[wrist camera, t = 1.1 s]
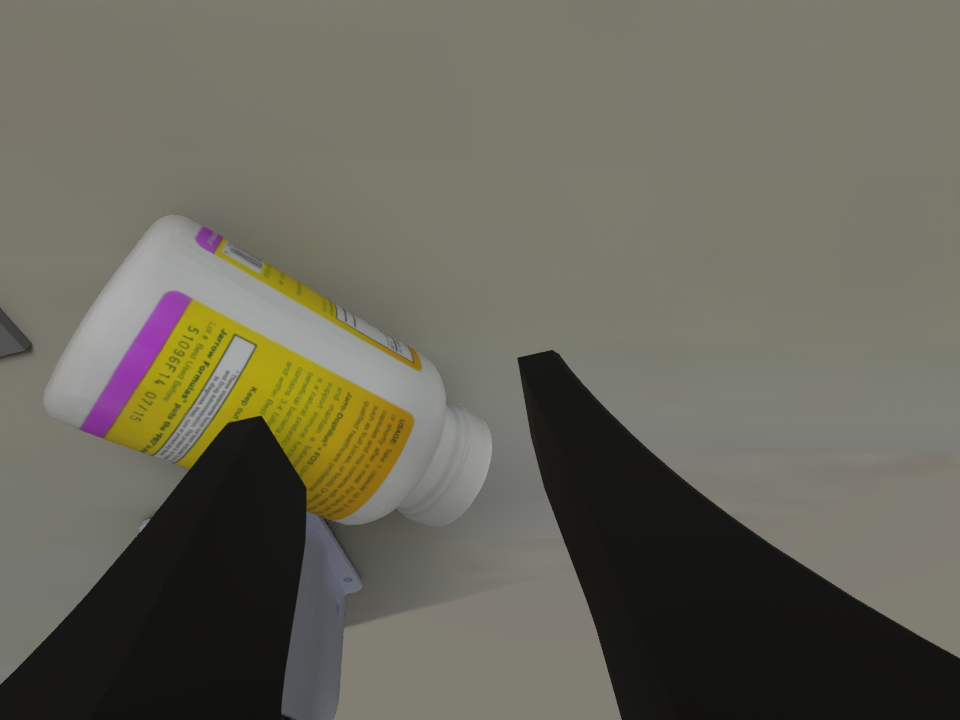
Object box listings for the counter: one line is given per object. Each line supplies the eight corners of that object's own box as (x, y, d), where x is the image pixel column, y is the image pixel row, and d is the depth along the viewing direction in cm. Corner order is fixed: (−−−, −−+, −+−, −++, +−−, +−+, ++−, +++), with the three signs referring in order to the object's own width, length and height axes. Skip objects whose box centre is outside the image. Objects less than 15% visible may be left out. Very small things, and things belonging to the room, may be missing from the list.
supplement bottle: (7, 450, 15) (393, 578, 21) (65, 323, 11) (513, 525, 17) (124, 291, 19) (412, 435, 25) (193, 162, 15) (511, 368, 22)
